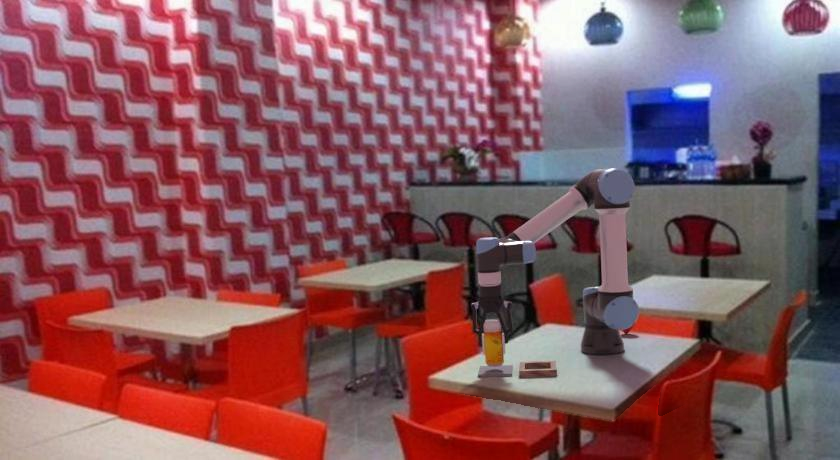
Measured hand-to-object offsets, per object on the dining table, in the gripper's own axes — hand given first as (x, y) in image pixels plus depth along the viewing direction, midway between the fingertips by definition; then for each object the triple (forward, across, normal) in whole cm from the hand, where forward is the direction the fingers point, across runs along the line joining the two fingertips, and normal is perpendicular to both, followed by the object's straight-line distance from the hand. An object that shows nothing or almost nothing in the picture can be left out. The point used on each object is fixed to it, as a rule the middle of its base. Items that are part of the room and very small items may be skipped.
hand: (494, 353), depth 257 cm
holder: (+6, -14, +1) cm, 15 cm away
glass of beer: (+4, 0, 0) cm, 4 cm away
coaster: (+6, 0, 0) cm, 6 cm away
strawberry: (+6, -48, -52) cm, 71 cm away
